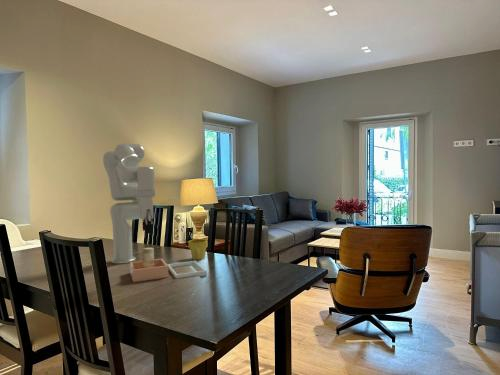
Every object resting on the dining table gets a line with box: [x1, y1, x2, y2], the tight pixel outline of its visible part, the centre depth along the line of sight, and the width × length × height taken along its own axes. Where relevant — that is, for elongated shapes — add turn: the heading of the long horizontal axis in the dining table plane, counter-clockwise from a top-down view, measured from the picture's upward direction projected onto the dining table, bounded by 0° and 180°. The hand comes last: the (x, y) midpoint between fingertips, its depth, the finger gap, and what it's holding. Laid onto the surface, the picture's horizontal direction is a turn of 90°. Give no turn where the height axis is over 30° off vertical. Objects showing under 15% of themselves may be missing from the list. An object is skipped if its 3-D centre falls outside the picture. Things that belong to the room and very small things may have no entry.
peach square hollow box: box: [129, 258, 170, 283], centre depth 157 cm, size 15×15×6 cm
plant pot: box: [188, 238, 208, 261], centre depth 190 cm, size 10×10×10 cm
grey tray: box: [166, 260, 208, 279], centre depth 163 cm, size 20×14×2 cm
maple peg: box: [141, 247, 155, 269], centre depth 157 cm, size 5×5×12 cm
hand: (147, 231), depth 156 cm, fingers open, 9 cm apart
